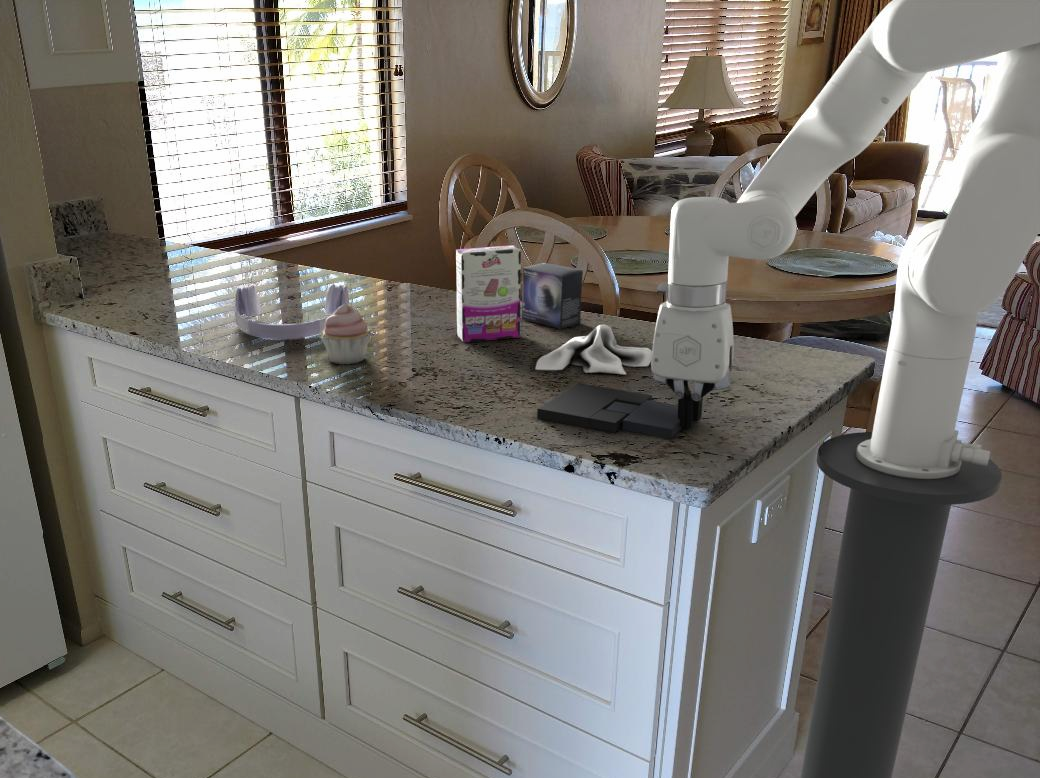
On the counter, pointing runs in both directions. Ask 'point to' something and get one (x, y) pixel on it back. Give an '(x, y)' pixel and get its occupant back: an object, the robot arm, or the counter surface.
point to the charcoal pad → (649, 418)
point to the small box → (551, 295)
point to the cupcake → (346, 336)
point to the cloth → (595, 354)
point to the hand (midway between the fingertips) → (688, 424)
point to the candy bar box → (488, 293)
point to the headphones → (250, 306)
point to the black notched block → (590, 407)
